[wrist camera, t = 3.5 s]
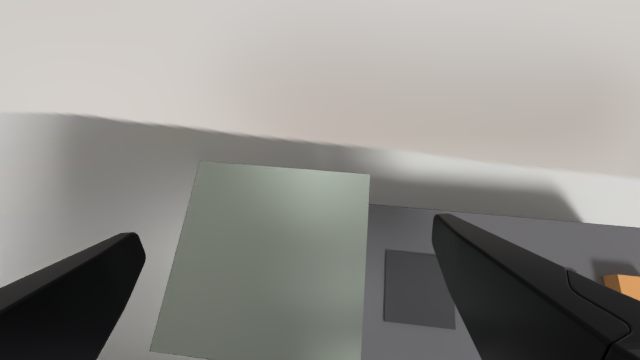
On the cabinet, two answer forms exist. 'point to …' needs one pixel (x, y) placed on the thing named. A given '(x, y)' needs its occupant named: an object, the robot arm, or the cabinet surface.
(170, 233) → the cabinet surface
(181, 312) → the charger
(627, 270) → the power strip
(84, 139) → the cabinet surface
